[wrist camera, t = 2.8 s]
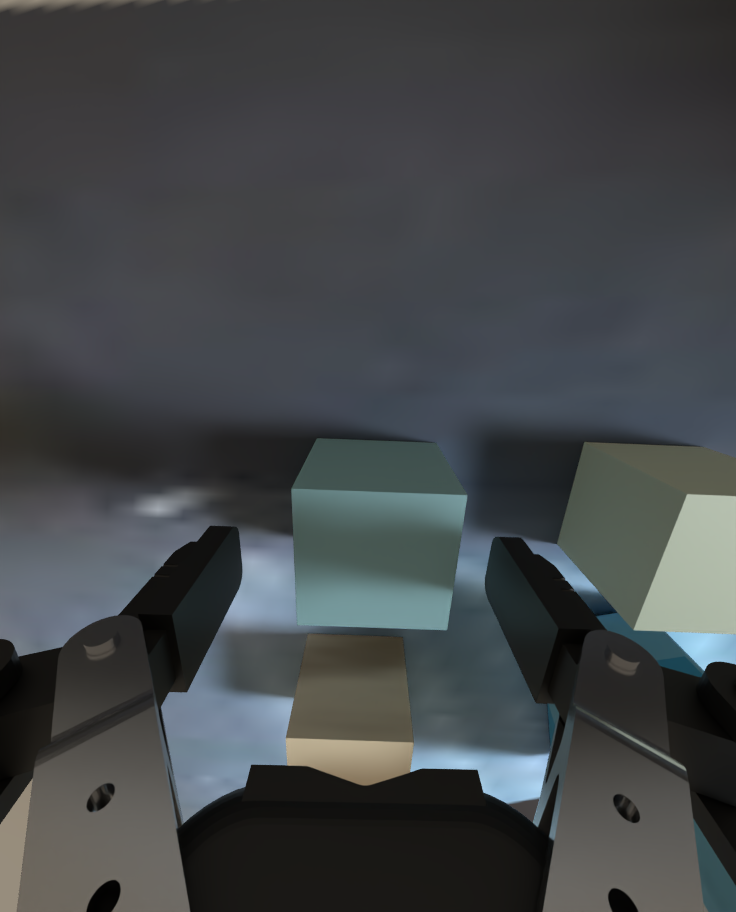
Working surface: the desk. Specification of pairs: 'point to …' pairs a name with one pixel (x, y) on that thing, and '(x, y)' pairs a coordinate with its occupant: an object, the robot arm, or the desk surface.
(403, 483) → the teal block
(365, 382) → the desk surface
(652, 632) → the data package
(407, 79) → the desk surface
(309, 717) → the maple block
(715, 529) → the sage block
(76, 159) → the desk surface
